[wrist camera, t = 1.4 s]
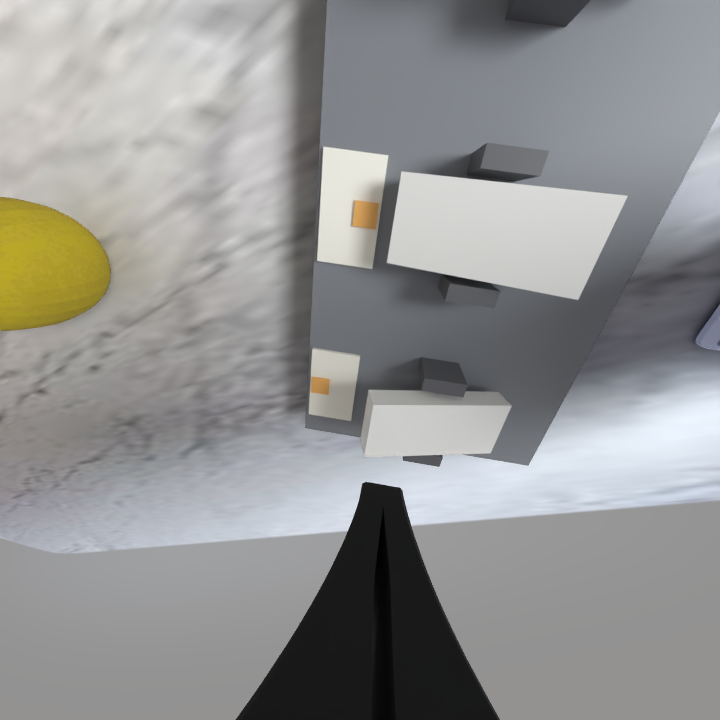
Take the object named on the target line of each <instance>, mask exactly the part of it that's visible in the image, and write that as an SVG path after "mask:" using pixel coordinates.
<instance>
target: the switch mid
mask: <svg viewBox="0 0 720 720" xmlns="http://www.w3.org/2000/svg"><path fill="white" fill-rule="evenodd" d="M627 197H628V196H625V195H616V194H607V193H597V192H588V191H579V190H569V189H560V188H551V187H542V186H532V185H523V184H514V183H505V182H495V181H486V180H477V179H468V178H458V177H449V176H440V175H431V174H421V173H412V172H403V171H401V178H400V184H399V190H398V196H397V203H396V209H395V215H394V221H393V227H392V234H391V240H390V246H389V252H388V258H387V263H390V264H395V265H400V266H405V267H410V268H415V269H421V270H426V271H431V272H436V273H441V274H446V275H452V276H457V277H462V278H467V279H472V280H477V281H483V282H488V283H493V284H498V285H503V286H508V287H513V288H519V289H524V290H529V291H534V292H539V293H544V294H550V295H555V296H560V297H565V298H570V299H575V300H578V299H579V297H580V295H581V293H582V291H583V289H584V287H585V285H586V282H587V280H588V278H589V276H590V274H591V272H592V270H593V268H594V266H595V264H596V262H597V259H598V257H599V255H600V253H601V251H602V249H603V247H604V245H605V243H606V241H607V238H608V236H609V234H610V232H611V230H612V228H613V226H614V224H615V222H616V220H617V218H618V215H619V213H620V211H621V209H622V207H623V205H624V203H625V201H626V199H627Z"/></svg>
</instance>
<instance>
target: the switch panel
mask: <svg viewBox="0 0 720 720" xmlns="http://www.w3.org/2000/svg"><path fill="white" fill-rule="evenodd" d="M719 112H720V0H327V10H326V29H325V49H324V69H323V89H322V108H321V128H320V148H319V168H318V188H317V207H316V227H315V247H314V267H313V286H312V306H311V326H310V346H309V365H308V385H307V405H306V425H305V428H308V429H314V430H320V431H326V432H332V433H338V434H344V435H350V436H356V437H361V433H362V426H363V420H364V414H365V408H366V402H367V396H368V390H415V391H426V392H432V393H439V394H445V395H451V396H457V397H464V395H465V392H466V391H480V392H499V393H500V394H501V395H502V396H503V397H504V398H505V399H506V400H507V401H508V402H509V403H510V404H511V405H512V407H511V409H510V411H509V413H508V415H507V418H506V420H505V422H504V424H503V427H502V429H501V431H500V433H499V436H498V438H497V440H496V442H495V445H494V447H493V449H492V451H491V453H488V454H463V455H469V456H475V457H481V458H487V459H492V460H498V461H504V462H510V463H516V464H522V465H529V463H530V461H531V459H532V458H533V456H534V454H535V452H536V450H537V448H538V447H539V445H540V443H541V441H542V439H543V437H544V435H545V434H546V432H547V430H548V428H549V426H550V424H551V423H552V421H553V419H554V417H555V415H556V413H557V411H558V410H559V408H560V406H561V404H562V402H563V400H564V398H565V397H566V395H567V393H568V391H569V389H570V387H571V386H572V384H573V382H574V380H575V378H576V376H577V374H578V373H579V371H580V369H581V367H582V365H583V363H584V361H585V360H586V358H587V356H588V354H589V352H590V350H591V349H592V347H593V345H594V343H595V341H596V339H597V337H598V336H599V334H600V332H601V330H602V328H603V326H604V325H605V323H606V321H607V319H608V317H609V315H610V313H611V312H612V310H613V308H614V306H615V304H616V302H617V300H618V299H619V297H620V295H621V293H622V291H623V289H624V288H625V286H626V284H627V282H628V280H629V278H630V276H631V275H632V273H633V271H634V269H635V267H636V265H637V263H638V262H639V260H640V258H641V256H642V254H643V252H644V251H645V249H646V247H647V245H648V243H649V241H650V239H651V238H652V236H653V234H654V232H655V230H656V228H657V227H658V225H659V223H660V221H661V219H662V217H663V215H664V214H665V212H666V210H667V208H668V206H669V204H670V202H671V201H672V199H673V197H674V195H675V193H676V191H677V190H678V188H679V186H680V184H681V182H682V180H683V178H684V177H685V175H686V173H687V171H688V169H689V167H690V165H691V164H692V162H693V160H694V158H695V156H696V154H697V153H698V151H699V149H700V147H701V145H702V143H703V141H704V140H705V138H706V136H707V134H708V132H709V130H710V128H711V127H712V125H713V123H714V121H715V119H716V117H717V116H718V114H719ZM401 171H403V172H412V173H421V174H431V175H440V176H449V177H458V178H468V179H477V180H486V181H495V182H505V183H514V184H523V185H532V186H542V187H551V188H560V189H569V190H579V191H588V192H597V193H607V194H616V195H625V196H628V197H627V199H626V201H625V203H624V205H623V207H622V209H621V211H620V213H619V215H618V218H617V220H616V222H615V224H614V226H613V228H612V230H611V232H610V234H609V236H608V238H607V241H606V243H605V245H604V247H603V249H602V251H601V253H600V255H599V257H598V259H597V262H596V264H595V266H594V268H593V270H592V272H591V274H590V276H589V278H588V280H587V282H586V285H585V287H584V289H583V291H582V293H581V295H580V297H579V299H578V300H575V299H570V298H565V297H560V296H555V295H550V294H544V293H539V292H534V291H529V290H524V289H519V288H513V287H508V286H503V285H498V284H493V283H488V282H483V281H477V280H472V279H467V278H462V277H457V276H452V275H446V274H441V273H436V272H431V271H426V270H421V269H415V268H410V267H405V266H400V265H395V264H390V263H387V258H388V252H389V246H390V240H391V234H392V227H393V221H394V215H395V209H396V203H397V196H398V190H399V184H400V178H401ZM442 458H443V457H442V455H422V456H403V461H409V462H415V463H420V464H426V465H432V466H438V467H439V466H440V464H441V461H442Z"/></svg>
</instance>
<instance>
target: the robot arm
mask: <svg viewBox="0 0 720 720" xmlns="http://www.w3.org/2000/svg"><path fill="white" fill-rule="evenodd" d="M719 340H720V305H719V306H718V308H717V309H716V310H715V312H714V313H713V315H712V316H711V318H710V319H709V320H708V322H707V323H706V325H705V326H704V327H703V329H702V330H701V332H700V333H699V334H698V336H697V338H696V344H697V345H699V346H701V347H703V348H706V349H712V350H718V351H720V341H719ZM718 341H719V342H718ZM236 720H500V719H499V717H498V715H497V714H496V712H495V710H494V708H493V707H492V705H491V703H490V701H489V699H488V697H487V696H486V694H485V692H484V690H483V688H482V686H481V684H480V683H479V681H478V679H477V677H476V675H475V673H474V671H473V670H472V668H471V666H470V664H469V662H468V660H467V659H466V656H465V654H464V652H463V650H462V649H461V647H460V644H459V642H458V640H457V639H456V636H455V634H454V632H453V630H452V628H451V626H450V624H449V622H448V619H447V617H446V615H445V613H444V611H443V608H442V606H441V604H440V602H439V599H438V597H437V595H436V592H435V590H434V588H433V585H432V583H431V580H430V578H429V575H428V573H427V570H426V567H425V565H424V562H423V560H422V557H421V554H420V551H419V548H418V545H417V542H416V540H415V537H414V534H413V530H412V527H411V524H410V520H409V517H408V513H407V510H406V506H405V501H404V497H403V492H402V490H401V489H400V488H398V487H392V486H386V485H381V484H375V483H369V482H365V483H363V484H362V488H361V494H360V499H359V502H358V506H357V509H356V512H355V515H354V517H353V520H352V523H351V525H350V527H349V530H348V532H347V535H346V537H345V540H344V542H343V544H342V546H341V548H340V550H339V552H338V555H337V557H336V559H335V561H334V563H333V565H332V567H331V569H330V571H329V573H328V575H327V577H326V579H325V581H324V583H323V584H322V586H321V588H320V590H319V592H318V593H317V596H316V597H315V599H314V601H313V602H312V604H311V606H310V608H309V609H308V611H307V613H306V614H305V616H304V618H303V620H302V621H301V623H300V624H299V626H298V628H297V629H296V631H295V633H294V634H293V636H292V637H291V639H290V641H289V642H288V644H287V645H286V647H285V648H284V650H283V651H282V653H281V655H280V656H279V658H278V659H277V661H276V662H275V664H274V665H273V667H272V668H271V670H270V671H269V673H268V674H267V676H266V677H265V679H264V680H263V682H262V684H261V685H260V686H259V688H258V689H257V691H256V692H255V693H254V695H253V696H252V698H251V699H250V701H249V702H248V703H247V705H246V706H245V707H244V709H243V710H242V712H241V713H240V715H239V716H238V717H237V719H236Z"/></svg>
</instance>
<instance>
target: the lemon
mask: <svg viewBox="0 0 720 720" xmlns="http://www.w3.org/2000/svg"><path fill="white" fill-rule="evenodd" d="M110 273H111V269H110V264H109V260H108V257H107V255H106V253H105V250H104V249H103V247H102V246H101V244H100V243H99V241H98V240H97V239H96V238H95V237H94V236H93V235H92V234H91V233H90V231H89V230H87V229H86V228H85V227H83V226H82V225H81V224H79V223H78V222H77V221H75V220H74V219H72V218H70V217H69V216H67V215H65V214H63V213H61V212H59V211H57V210H55V209H52V208H49V207H47V206H43V205H40V204H36V203H32V202H28V201H24V200H19V199H13V198H5V197H0V331H9V330H21V329H29V328H37V327H43V326H49V325H53V324H57V323H61V322H64V321H66V320H69V319H71V318H74V317H76V316H78V315H79V314H81V313H83V312H85V311H87V310H88V309H90V308H92V307H93V306H94V305H95V304H96V303H97V302H98V301H99V300H100V299H101V298H102V296H103V295H104V294H105V292H106V291H107V288H108V285H109V282H110Z"/></svg>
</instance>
